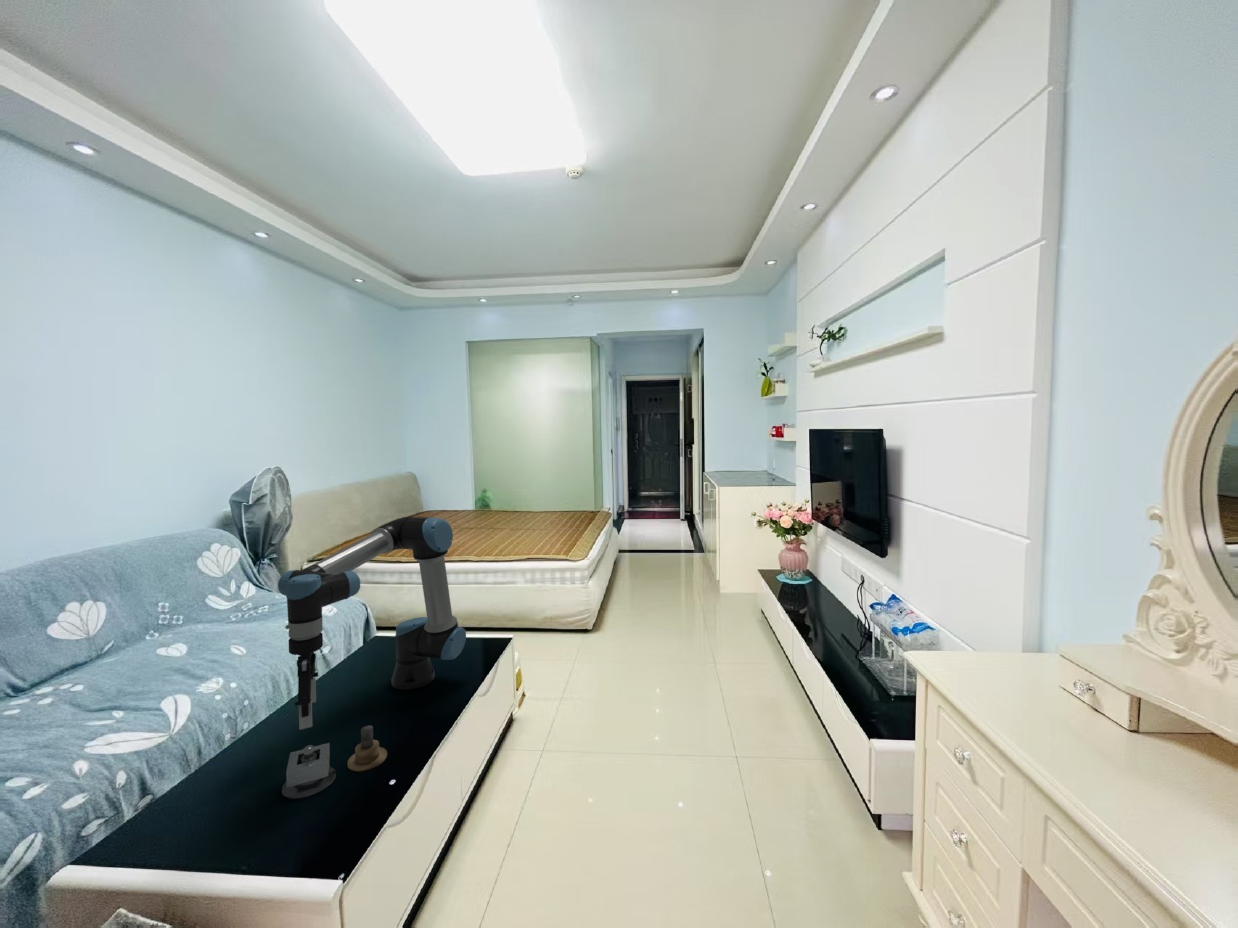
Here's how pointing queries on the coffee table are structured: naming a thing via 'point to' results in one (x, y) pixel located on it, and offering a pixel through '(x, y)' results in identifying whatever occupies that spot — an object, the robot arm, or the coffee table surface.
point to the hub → (311, 786)
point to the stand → (367, 752)
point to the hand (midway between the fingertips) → (308, 714)
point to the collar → (308, 766)
